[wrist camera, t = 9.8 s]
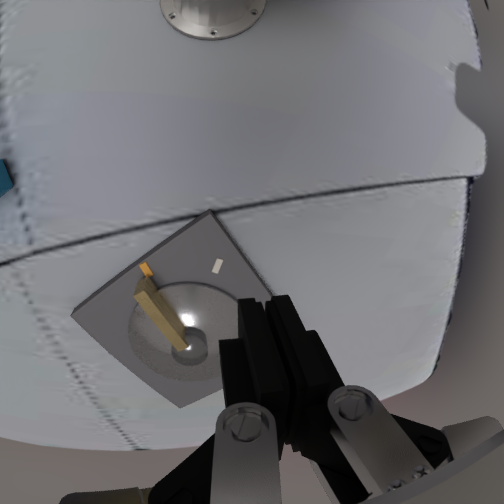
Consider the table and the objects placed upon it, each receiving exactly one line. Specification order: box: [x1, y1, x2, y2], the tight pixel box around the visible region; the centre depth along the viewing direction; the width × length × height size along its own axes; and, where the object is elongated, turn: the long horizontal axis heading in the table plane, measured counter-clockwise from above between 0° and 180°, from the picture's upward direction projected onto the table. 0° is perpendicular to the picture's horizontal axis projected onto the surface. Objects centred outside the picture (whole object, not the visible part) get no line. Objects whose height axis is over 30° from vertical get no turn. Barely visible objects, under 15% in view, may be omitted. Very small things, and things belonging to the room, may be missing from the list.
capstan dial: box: [128, 276, 238, 381], centre depth 40 cm, size 20×18×4 cm
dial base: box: [71, 209, 273, 408], centre depth 44 cm, size 26×26×2 cm
